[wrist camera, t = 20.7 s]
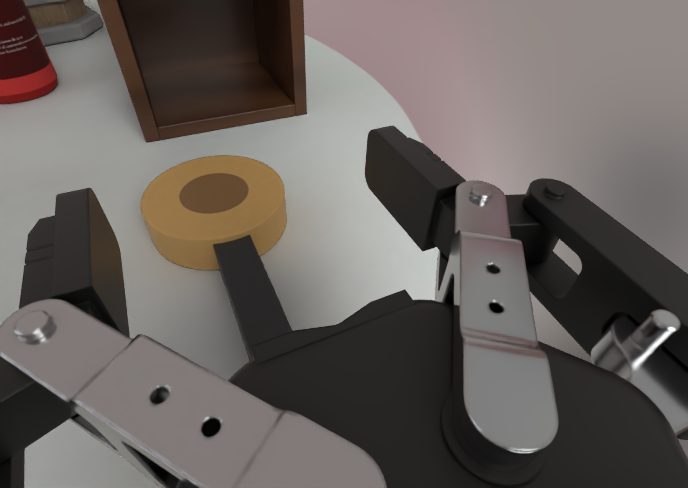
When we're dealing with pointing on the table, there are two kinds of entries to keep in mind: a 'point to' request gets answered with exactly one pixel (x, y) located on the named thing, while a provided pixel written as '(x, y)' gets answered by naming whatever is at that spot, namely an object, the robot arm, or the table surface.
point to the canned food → (22, 56)
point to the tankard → (62, 20)
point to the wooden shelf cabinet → (209, 62)
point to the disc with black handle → (224, 231)
